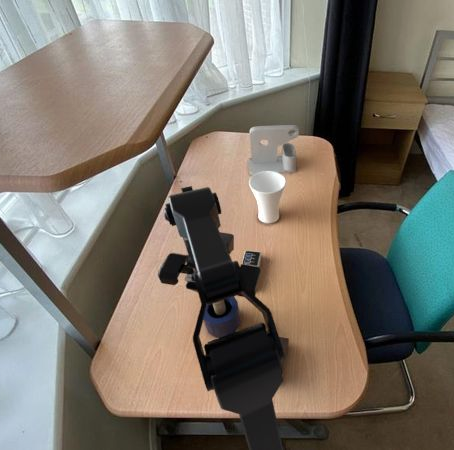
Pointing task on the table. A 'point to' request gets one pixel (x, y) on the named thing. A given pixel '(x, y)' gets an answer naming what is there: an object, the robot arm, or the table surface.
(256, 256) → the multiport hub
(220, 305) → the brush
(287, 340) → the brush stand
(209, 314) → the blue hollow cylinder
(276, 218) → the cup
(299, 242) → the table surface
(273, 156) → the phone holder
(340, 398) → the table surface
